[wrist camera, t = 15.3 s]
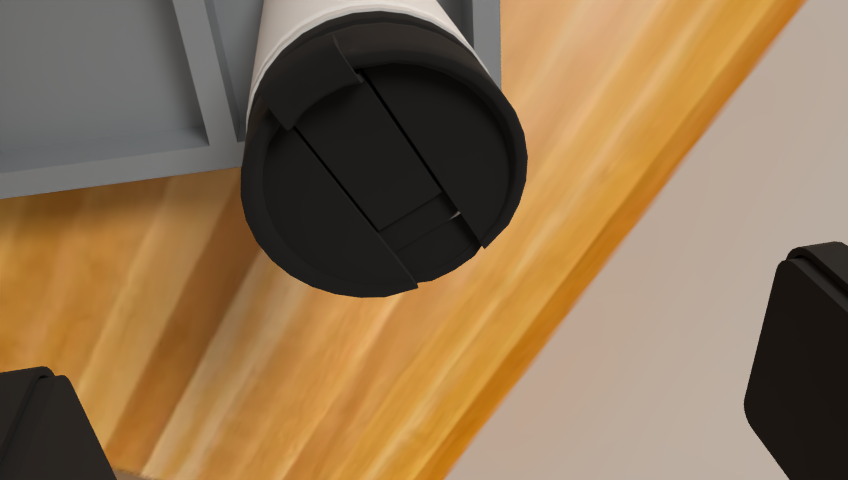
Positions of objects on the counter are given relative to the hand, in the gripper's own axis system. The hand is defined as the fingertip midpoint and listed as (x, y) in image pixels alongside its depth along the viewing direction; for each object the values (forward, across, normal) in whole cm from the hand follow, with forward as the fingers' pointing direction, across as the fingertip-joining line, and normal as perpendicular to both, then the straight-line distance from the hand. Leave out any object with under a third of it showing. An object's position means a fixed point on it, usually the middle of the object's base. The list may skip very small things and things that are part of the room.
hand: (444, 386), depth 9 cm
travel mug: (+26, 0, 0) cm, 26 cm away
